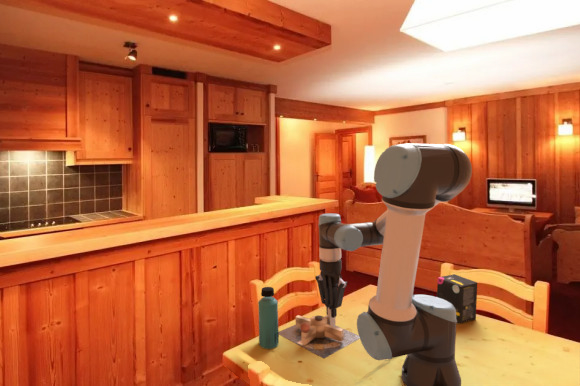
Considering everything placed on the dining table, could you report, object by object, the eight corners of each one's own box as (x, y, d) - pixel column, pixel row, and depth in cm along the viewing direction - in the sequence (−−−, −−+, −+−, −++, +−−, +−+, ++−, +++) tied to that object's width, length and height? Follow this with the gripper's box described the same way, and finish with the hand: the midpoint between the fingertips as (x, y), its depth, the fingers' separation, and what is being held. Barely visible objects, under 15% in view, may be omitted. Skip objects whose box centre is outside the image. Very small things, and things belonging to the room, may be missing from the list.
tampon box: (435, 313, 143) (436, 276, 142) (452, 309, 147) (453, 273, 146) (458, 324, 133) (460, 285, 132) (476, 319, 137) (478, 281, 136)
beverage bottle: (276, 354, 114) (275, 292, 112) (256, 352, 116) (254, 291, 114) (281, 344, 121) (280, 285, 119) (261, 342, 122) (260, 284, 120)
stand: (362, 341, 122) (362, 336, 122) (323, 363, 109) (323, 357, 109) (314, 320, 138) (314, 315, 138) (276, 337, 125) (276, 332, 125)
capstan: (354, 331, 125) (355, 311, 125) (326, 354, 111) (326, 332, 110) (311, 317, 136) (310, 299, 135) (280, 337, 121) (279, 317, 121)
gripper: (351, 259, 123) (353, 327, 125) (324, 253, 132) (325, 316, 134) (337, 264, 118) (338, 334, 120) (309, 257, 127) (311, 323, 129)
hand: (331, 325), depth 127 cm, fingers closed
